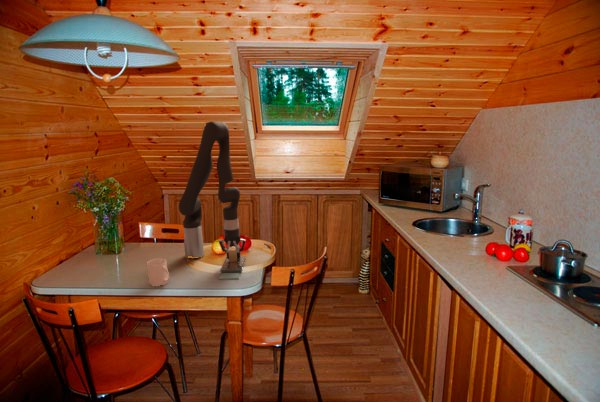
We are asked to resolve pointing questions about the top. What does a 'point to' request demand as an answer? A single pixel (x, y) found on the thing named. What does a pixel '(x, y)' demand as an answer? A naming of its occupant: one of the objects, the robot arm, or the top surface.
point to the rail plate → (233, 266)
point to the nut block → (233, 255)
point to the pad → (229, 276)
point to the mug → (157, 271)
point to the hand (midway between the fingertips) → (233, 258)
